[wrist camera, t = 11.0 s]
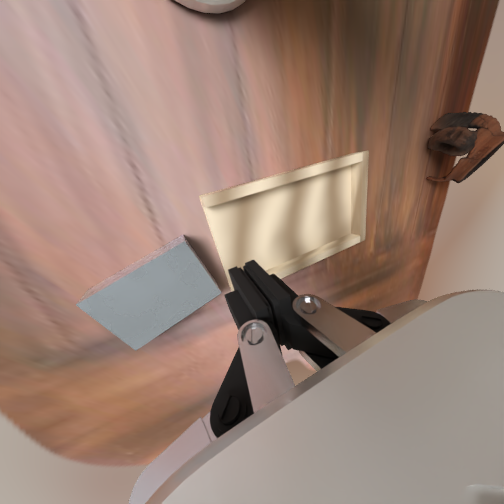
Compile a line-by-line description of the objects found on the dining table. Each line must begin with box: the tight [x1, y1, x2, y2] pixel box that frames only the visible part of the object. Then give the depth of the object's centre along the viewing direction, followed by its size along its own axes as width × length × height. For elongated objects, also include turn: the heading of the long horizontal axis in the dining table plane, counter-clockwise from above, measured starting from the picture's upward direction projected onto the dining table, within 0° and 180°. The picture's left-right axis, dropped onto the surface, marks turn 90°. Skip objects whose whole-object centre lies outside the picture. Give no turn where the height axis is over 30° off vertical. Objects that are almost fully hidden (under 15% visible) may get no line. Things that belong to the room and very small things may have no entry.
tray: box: [199, 150, 369, 292], centre depth 23 cm, size 21×12×2 cm, turn 104°
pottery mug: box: [427, 112, 504, 183], centre depth 28 cm, size 12×10×8 cm
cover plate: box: [76, 235, 221, 350], centre depth 19 cm, size 10×7×3 cm
